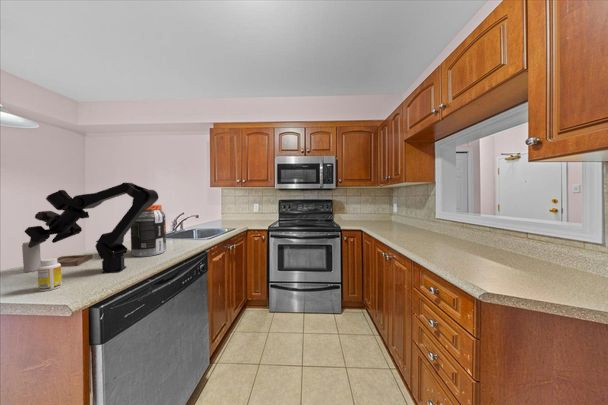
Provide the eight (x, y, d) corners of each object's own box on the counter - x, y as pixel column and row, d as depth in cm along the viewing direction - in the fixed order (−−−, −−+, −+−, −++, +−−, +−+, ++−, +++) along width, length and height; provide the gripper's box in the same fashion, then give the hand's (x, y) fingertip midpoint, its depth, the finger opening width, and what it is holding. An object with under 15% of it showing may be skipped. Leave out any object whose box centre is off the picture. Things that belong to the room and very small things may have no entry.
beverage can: (29, 273, 97) (27, 244, 96) (20, 272, 98) (18, 243, 97) (44, 269, 102) (42, 241, 101) (35, 268, 103) (34, 241, 102)
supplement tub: (172, 252, 131) (171, 205, 130) (140, 259, 118) (138, 206, 116) (157, 248, 139) (155, 203, 138) (125, 254, 126) (124, 205, 125)
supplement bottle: (61, 283, 86) (59, 256, 86) (62, 288, 83) (61, 258, 82) (38, 288, 82) (36, 259, 82) (38, 293, 79) (37, 262, 78)
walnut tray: (92, 258, 118) (92, 254, 118) (77, 265, 107) (77, 261, 107) (62, 260, 115) (62, 256, 115) (43, 268, 103) (43, 263, 103)
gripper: (74, 203, 108) (49, 227, 108) (28, 205, 89) (-2, 235, 89) (92, 220, 109) (68, 244, 109) (51, 227, 90) (21, 256, 90)
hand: (41, 244), depth 99 cm, fingers open, 9 cm apart
